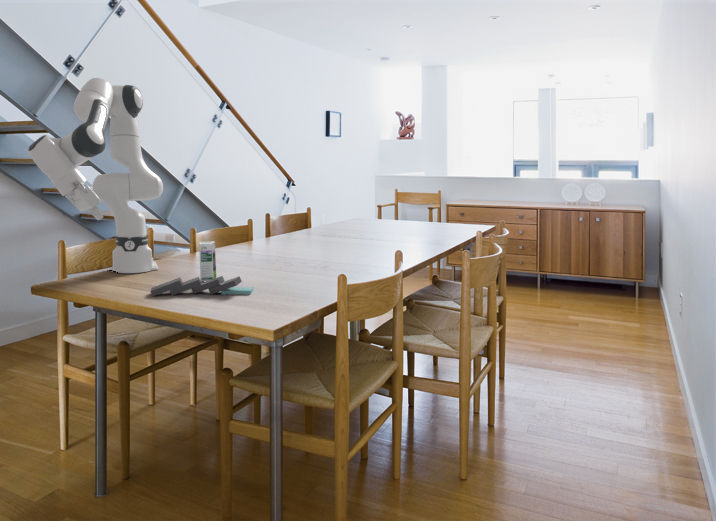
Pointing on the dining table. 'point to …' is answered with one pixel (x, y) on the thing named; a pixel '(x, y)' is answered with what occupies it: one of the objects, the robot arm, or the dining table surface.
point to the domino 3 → (208, 284)
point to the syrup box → (207, 261)
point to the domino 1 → (166, 286)
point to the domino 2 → (186, 286)
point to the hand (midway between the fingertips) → (100, 218)
